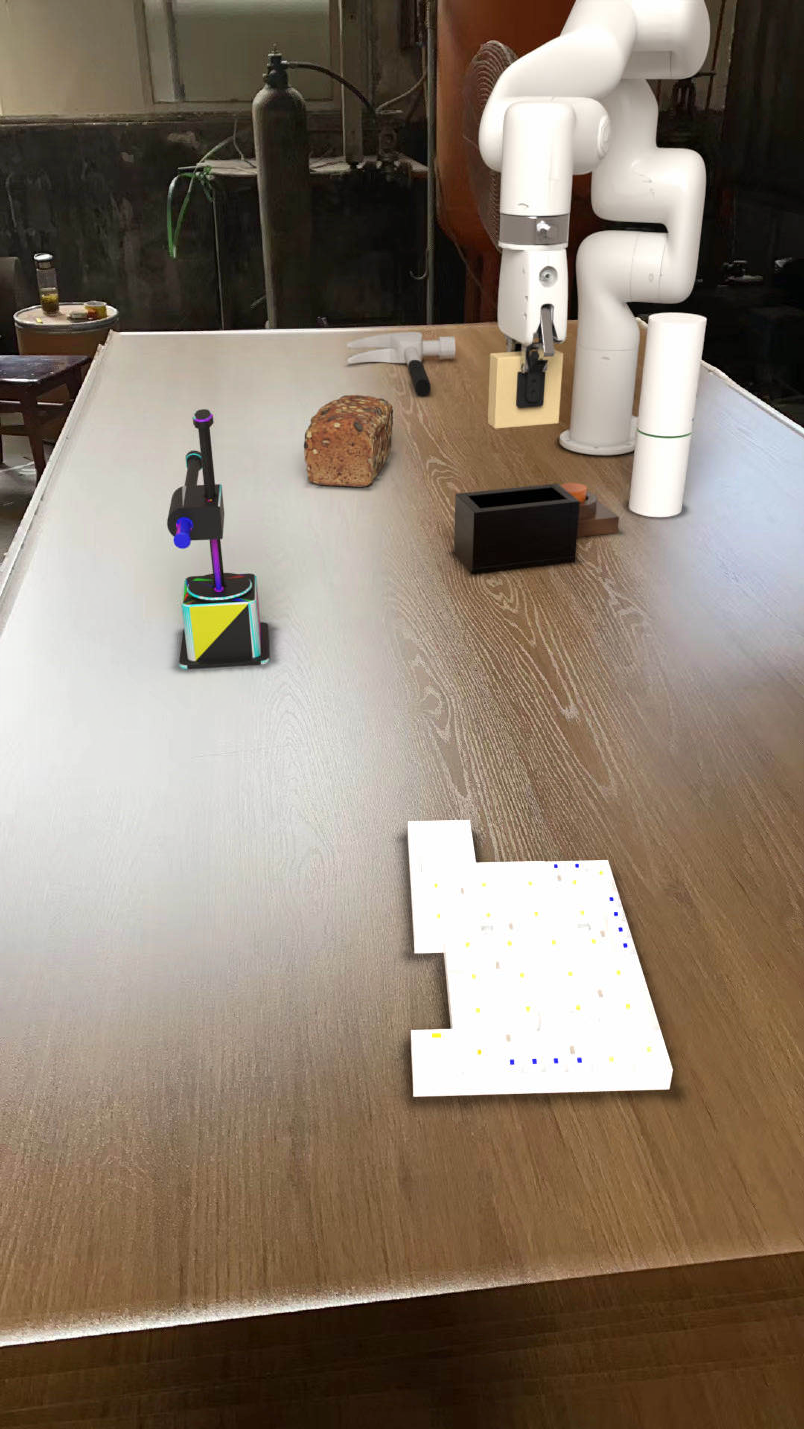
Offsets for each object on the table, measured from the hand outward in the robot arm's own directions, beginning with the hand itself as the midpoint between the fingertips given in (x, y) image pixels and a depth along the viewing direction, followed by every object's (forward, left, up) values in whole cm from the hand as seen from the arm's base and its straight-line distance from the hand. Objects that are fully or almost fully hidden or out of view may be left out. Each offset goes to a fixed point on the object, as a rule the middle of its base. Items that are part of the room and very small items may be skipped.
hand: (524, 401), depth 127 cm
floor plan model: (+26, +67, -19) cm, 74 cm away
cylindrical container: (-24, -9, -19) cm, 32 cm away
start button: (-10, -6, -15) cm, 19 cm away
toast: (0, 0, -3) cm, 3 cm away
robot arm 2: (+38, +11, -19) cm, 44 cm away
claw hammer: (-12, -90, -19) cm, 93 cm away
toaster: (+1, +2, -19) cm, 19 cm away
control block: (-10, -6, -19) cm, 22 cm away
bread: (+12, -38, -19) cm, 44 cm away
